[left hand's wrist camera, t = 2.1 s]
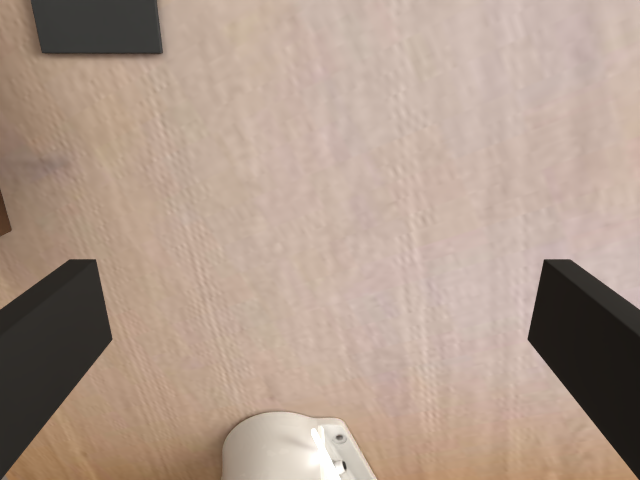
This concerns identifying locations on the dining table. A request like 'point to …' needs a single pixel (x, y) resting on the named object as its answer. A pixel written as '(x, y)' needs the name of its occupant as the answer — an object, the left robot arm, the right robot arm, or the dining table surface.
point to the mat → (97, 26)
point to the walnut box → (3, 218)
